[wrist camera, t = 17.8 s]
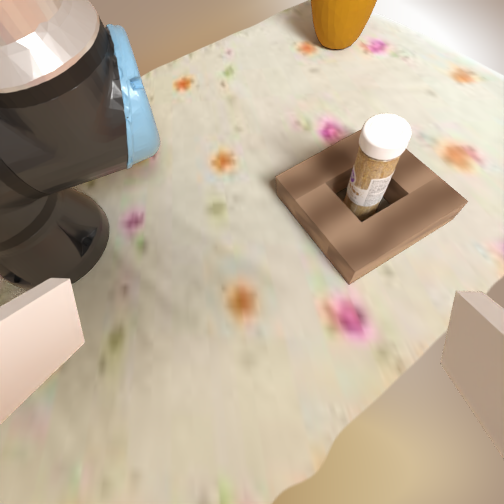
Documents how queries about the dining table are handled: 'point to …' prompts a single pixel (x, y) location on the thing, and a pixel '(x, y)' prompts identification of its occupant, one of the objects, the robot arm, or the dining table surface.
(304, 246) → the dining table surface
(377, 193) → the sprinkles bottle
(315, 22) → the apple
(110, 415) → the dining table surface
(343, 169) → the frame
